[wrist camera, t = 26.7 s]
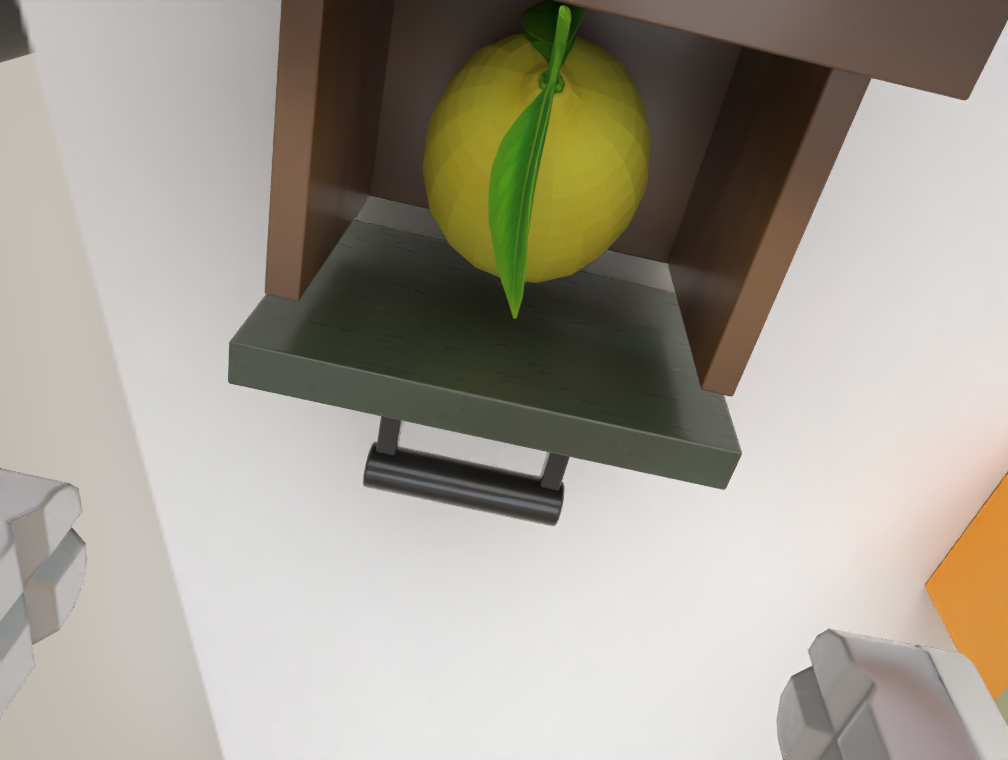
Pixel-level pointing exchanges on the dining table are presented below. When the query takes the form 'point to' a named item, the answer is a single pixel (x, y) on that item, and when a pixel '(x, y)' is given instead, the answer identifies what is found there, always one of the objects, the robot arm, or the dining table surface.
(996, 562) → the orange juice
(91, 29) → the dining table surface
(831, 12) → the cabinet
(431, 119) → the lemon
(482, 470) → the drawer
